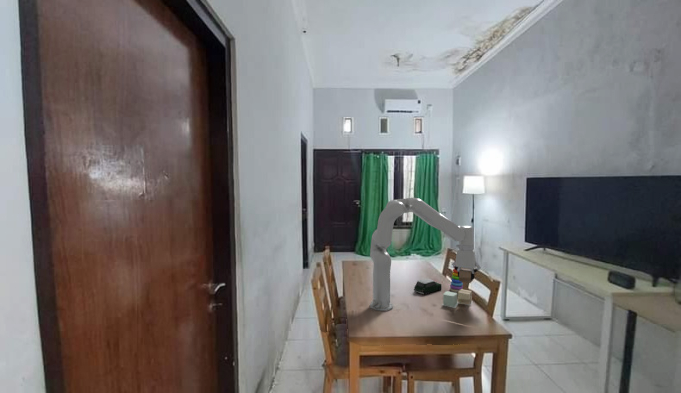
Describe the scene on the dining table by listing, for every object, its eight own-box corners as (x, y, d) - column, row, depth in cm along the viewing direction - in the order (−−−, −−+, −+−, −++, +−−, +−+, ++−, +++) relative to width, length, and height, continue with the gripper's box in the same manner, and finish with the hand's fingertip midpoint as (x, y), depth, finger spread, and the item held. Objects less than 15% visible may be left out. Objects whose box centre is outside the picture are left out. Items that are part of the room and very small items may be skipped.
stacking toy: (461, 294, 187) (462, 264, 186) (448, 291, 192) (448, 262, 191) (464, 290, 194) (464, 261, 193) (451, 287, 198) (451, 259, 197)
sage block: (454, 307, 167) (454, 296, 166) (443, 304, 170) (443, 294, 170) (457, 303, 171) (457, 293, 171) (446, 301, 175) (446, 291, 175)
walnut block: (470, 283, 169) (470, 272, 169) (459, 281, 172) (459, 270, 172) (472, 280, 174) (472, 269, 173) (461, 278, 177) (461, 268, 177)
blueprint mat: (472, 315, 158) (472, 313, 158) (440, 307, 168) (440, 306, 168) (480, 302, 175) (480, 301, 175) (450, 296, 184) (450, 295, 184)
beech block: (469, 305, 170) (469, 294, 169) (458, 302, 173) (458, 292, 173) (471, 301, 174) (471, 291, 174) (460, 299, 178) (460, 289, 178)
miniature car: (443, 291, 193) (443, 278, 193) (423, 297, 184) (423, 284, 183) (431, 287, 201) (432, 275, 200) (412, 292, 191) (412, 280, 191)
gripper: (448, 247, 174) (448, 278, 175) (481, 250, 164) (481, 283, 165) (452, 244, 180) (452, 274, 181) (483, 248, 170) (483, 279, 171)
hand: (466, 278), depth 173 cm, fingers closed on walnut block, 6 cm apart
